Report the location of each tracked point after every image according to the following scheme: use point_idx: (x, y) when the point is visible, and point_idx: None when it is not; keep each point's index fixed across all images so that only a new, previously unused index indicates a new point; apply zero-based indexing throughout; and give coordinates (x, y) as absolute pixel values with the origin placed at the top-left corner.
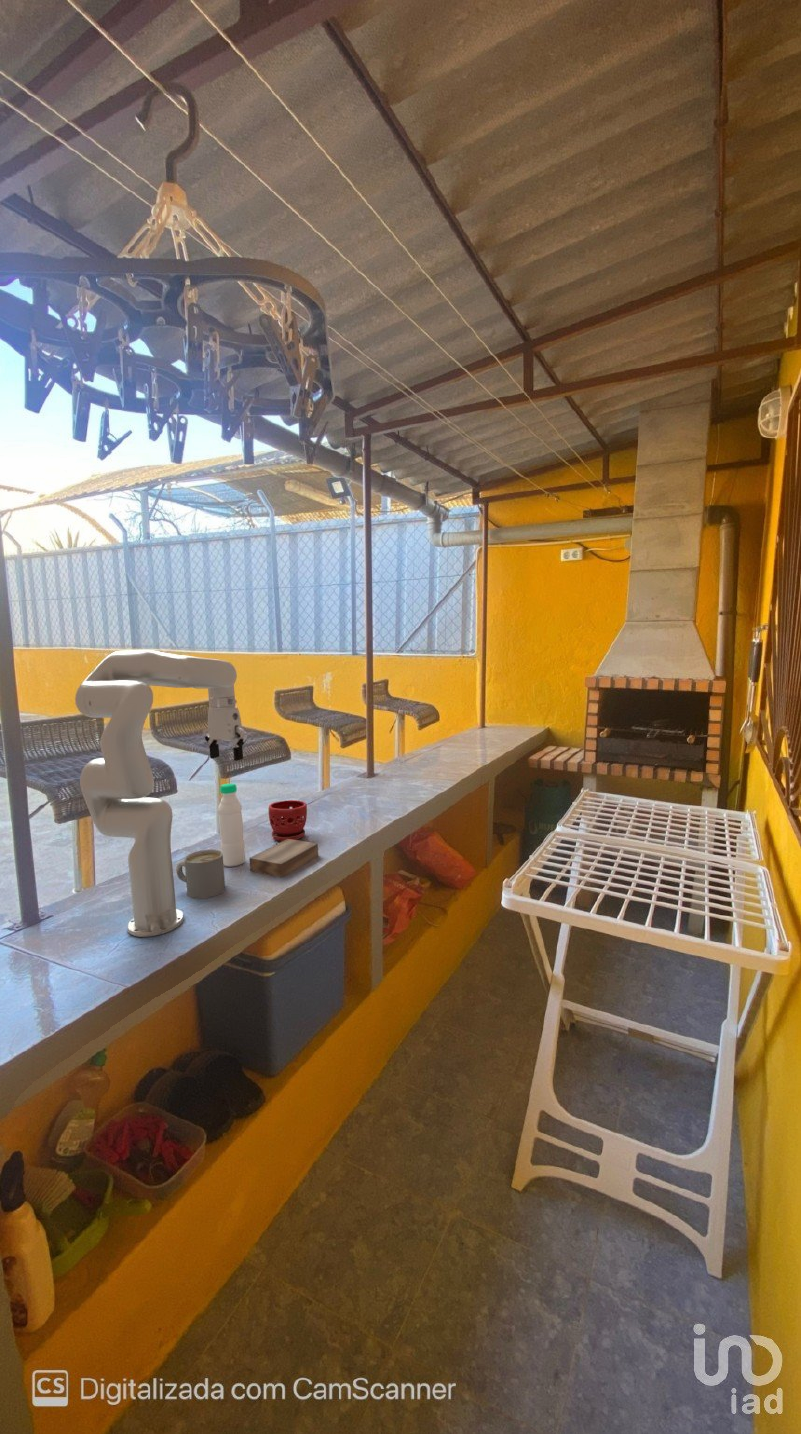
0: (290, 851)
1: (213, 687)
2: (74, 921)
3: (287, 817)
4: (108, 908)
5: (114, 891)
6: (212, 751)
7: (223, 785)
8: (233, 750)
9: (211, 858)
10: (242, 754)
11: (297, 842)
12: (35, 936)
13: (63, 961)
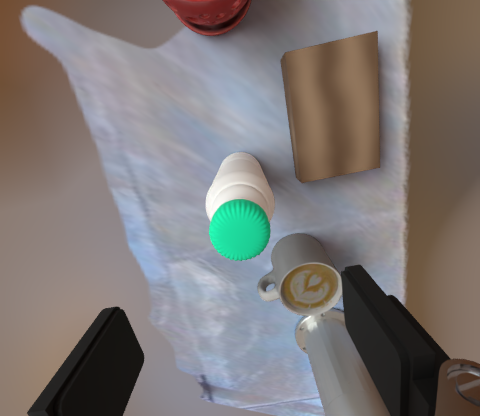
0: (351, 109)
1: None
2: (237, 368)
3: None
4: (236, 341)
5: (191, 320)
6: (123, 405)
7: (234, 253)
8: (387, 405)
9: (317, 277)
10: (402, 306)
11: (326, 57)
12: (238, 394)
13: (310, 396)
